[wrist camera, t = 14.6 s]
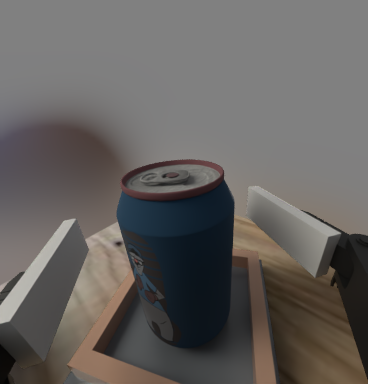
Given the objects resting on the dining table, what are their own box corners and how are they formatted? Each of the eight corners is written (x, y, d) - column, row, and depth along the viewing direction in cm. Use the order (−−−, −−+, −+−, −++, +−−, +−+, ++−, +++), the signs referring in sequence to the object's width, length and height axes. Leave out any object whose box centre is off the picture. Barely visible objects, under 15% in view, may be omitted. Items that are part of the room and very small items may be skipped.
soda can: (223, 271, 17) (225, 154, 12) (238, 361, 11) (253, 195, 6) (157, 271, 18) (134, 160, 13) (135, 356, 12) (75, 203, 7)
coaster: (259, 267, 19) (262, 248, 18) (292, 501, 8) (305, 490, 6) (153, 251, 23) (150, 235, 21) (69, 392, 11) (53, 373, 10)
